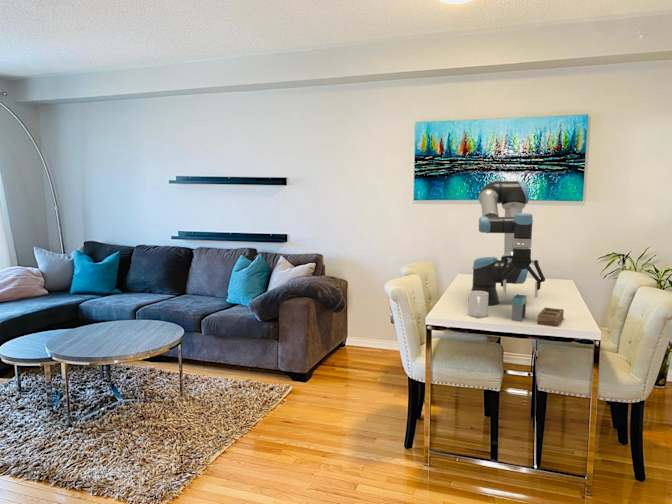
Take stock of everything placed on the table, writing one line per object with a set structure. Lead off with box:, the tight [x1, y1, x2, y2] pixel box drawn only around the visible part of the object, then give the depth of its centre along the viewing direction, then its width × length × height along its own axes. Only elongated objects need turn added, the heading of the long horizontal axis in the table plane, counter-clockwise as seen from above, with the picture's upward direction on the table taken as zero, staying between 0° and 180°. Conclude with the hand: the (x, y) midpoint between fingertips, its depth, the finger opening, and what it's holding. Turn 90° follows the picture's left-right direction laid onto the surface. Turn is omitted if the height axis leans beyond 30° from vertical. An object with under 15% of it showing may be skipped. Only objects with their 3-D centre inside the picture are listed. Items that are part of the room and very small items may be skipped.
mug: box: [468, 290, 489, 318], centre depth 237 cm, size 9×12×11 cm
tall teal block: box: [511, 294, 527, 322], centre depth 232 cm, size 10×4×10 cm, turn 149°
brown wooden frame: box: [536, 307, 565, 327], centre depth 229 cm, size 18×8×4 cm, turn 149°
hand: (519, 295), depth 231 cm, fingers open, 13 cm apart
